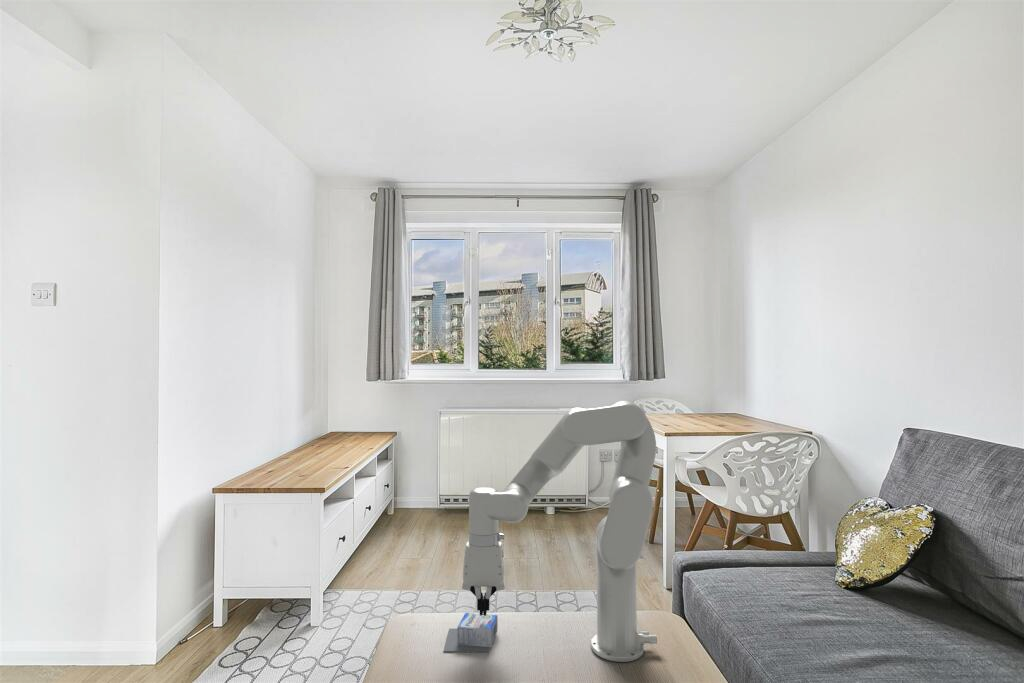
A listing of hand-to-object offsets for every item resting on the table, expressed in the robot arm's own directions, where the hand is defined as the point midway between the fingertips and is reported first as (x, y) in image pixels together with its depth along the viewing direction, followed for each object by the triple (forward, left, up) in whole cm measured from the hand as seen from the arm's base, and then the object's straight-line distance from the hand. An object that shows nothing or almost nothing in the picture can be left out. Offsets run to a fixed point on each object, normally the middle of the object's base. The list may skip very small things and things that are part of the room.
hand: (483, 613), depth 133 cm
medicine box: (-3, 0, -4) cm, 5 cm away
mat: (+4, 0, -7) cm, 8 cm away
